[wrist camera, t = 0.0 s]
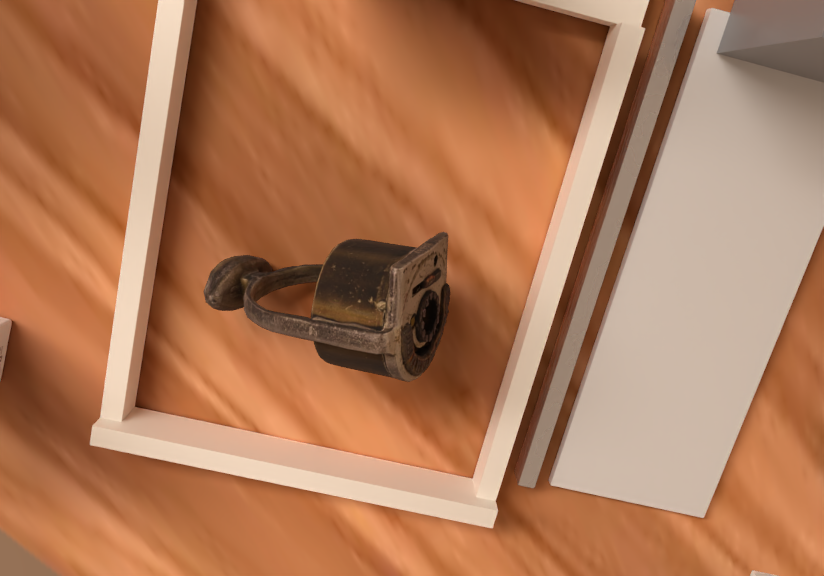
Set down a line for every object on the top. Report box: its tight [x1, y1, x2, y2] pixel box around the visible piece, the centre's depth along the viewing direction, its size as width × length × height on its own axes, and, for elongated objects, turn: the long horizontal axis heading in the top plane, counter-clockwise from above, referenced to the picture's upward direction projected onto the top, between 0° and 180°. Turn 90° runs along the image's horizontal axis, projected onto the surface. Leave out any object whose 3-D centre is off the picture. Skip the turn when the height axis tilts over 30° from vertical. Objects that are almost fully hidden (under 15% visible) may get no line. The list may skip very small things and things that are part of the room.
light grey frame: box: [90, 0, 649, 528], centre depth 33 cm, size 31×23×10 cm
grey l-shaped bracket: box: [549, 0, 824, 518], centre depth 34 cm, size 29×10×10 cm, turn 166°
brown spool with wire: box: [204, 232, 450, 382], centre depth 34 cm, size 7×13×10 cm, turn 103°
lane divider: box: [514, 0, 696, 488], centre depth 38 cm, size 28×1×2 cm, turn 166°
